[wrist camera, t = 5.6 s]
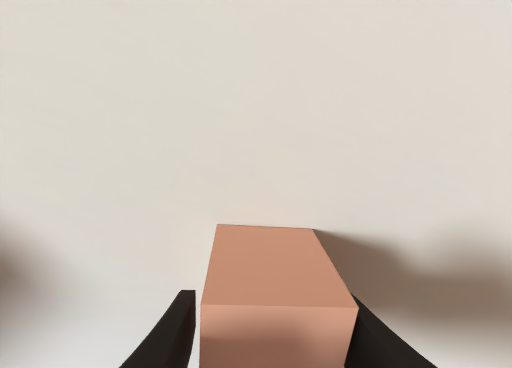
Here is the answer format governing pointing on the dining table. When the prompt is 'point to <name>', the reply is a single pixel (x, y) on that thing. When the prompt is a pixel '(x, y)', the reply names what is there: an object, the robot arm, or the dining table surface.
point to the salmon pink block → (273, 302)
